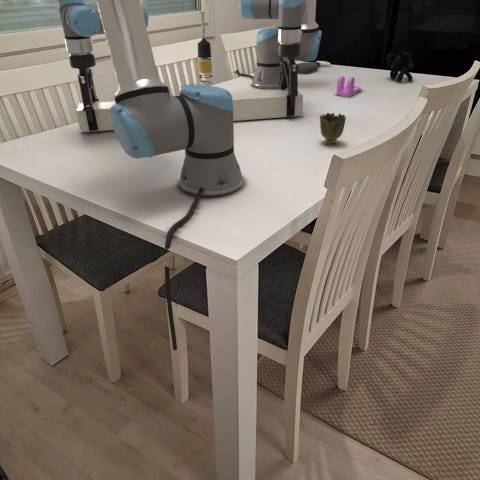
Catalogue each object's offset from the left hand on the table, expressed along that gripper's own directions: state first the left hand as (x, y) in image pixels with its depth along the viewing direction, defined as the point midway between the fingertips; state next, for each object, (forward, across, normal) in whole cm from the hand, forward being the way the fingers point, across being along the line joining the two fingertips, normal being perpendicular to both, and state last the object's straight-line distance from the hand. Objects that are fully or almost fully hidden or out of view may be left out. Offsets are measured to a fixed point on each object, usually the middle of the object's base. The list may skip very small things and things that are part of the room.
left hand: (95, 125), depth 148 cm
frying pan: (+1, +73, -99) cm, 123 cm away
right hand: (0, 0, -66) cm, 66 cm away
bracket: (+1, +24, -99) cm, 102 cm away
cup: (+1, -31, -71) cm, 77 cm away
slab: (+1, 0, -33) cm, 33 cm away
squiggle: (+1, +40, -130) cm, 135 cm away
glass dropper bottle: (+1, +41, -42) cm, 59 cm away
